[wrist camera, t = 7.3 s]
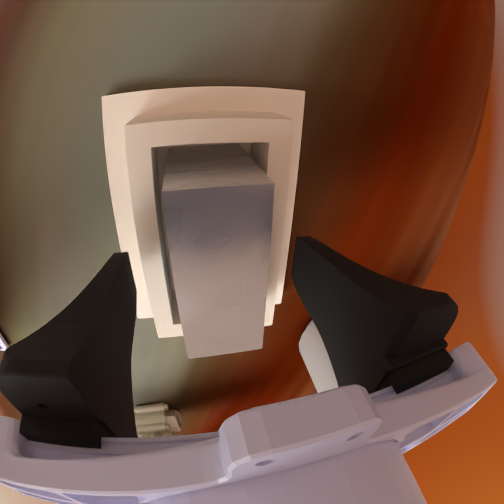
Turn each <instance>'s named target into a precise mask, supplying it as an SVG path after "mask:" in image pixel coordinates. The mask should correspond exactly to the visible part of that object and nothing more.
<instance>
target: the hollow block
mask: <svg viewBox="0 0 504 504" xmlns="http://www.w3.org/2000/svg"><path fill="white" fill-rule="evenodd" d="M304 101H305V91H300V90H291V89H279V88H264V87H239V86H205V87H180V88H165V89H153V90H143V91H135V92H127V93H119V94H113V95H106V96H102V115H103V130H104V142H105V153H106V162H107V170H108V178H109V185H110V192H111V199H112V205H113V211H114V217H115V223H116V228H117V233H118V238H119V243H120V248H121V252H128V254H129V258H130V263H131V268H132V272H133V277H134V281H135V285H136V289H137V311H136V313H137V316H138V319H139V318H152V317H153V318H154V322H155V326H156V330H157V334H158V337H159V338H164V337H176V336H183V331H182V326H181V321H180V315H179V310H178V304H177V299H176V293H175V287H174V281H173V275H172V268H171V262H170V255H169V248H168V240H167V233H166V225H165V216H164V208H163V198H162V187H163V179H164V173H165V166H166V159H167V153H168V149H169V148H180V147H193V146H208V145H228V144H239V145H240V146H241V147H242V148H243V149H244V150H245V151H246V152H247V153H248V154H249V156H250V157H251V158H252V159H253V160H254V161H255V162H256V163H257V164H258V165H259V167H260V168H261V169H262V170H263V171H264V172H265V173H266V174H267V175H268V177H269V178H270V179H271V180H272V181H273V182H274V183H275V188H274V203H273V218H272V232H271V246H270V259H269V272H268V285H267V297H266V309H265V321H264V326H268V325H272V321H273V314H274V306H275V304H280V303H281V300H282V294H283V287H284V280H285V272H286V265H287V258H288V250H289V242H290V235H291V227H292V218H293V210H294V202H295V193H296V184H297V175H298V165H299V156H300V146H301V135H302V124H303V113H304Z"/></svg>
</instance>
